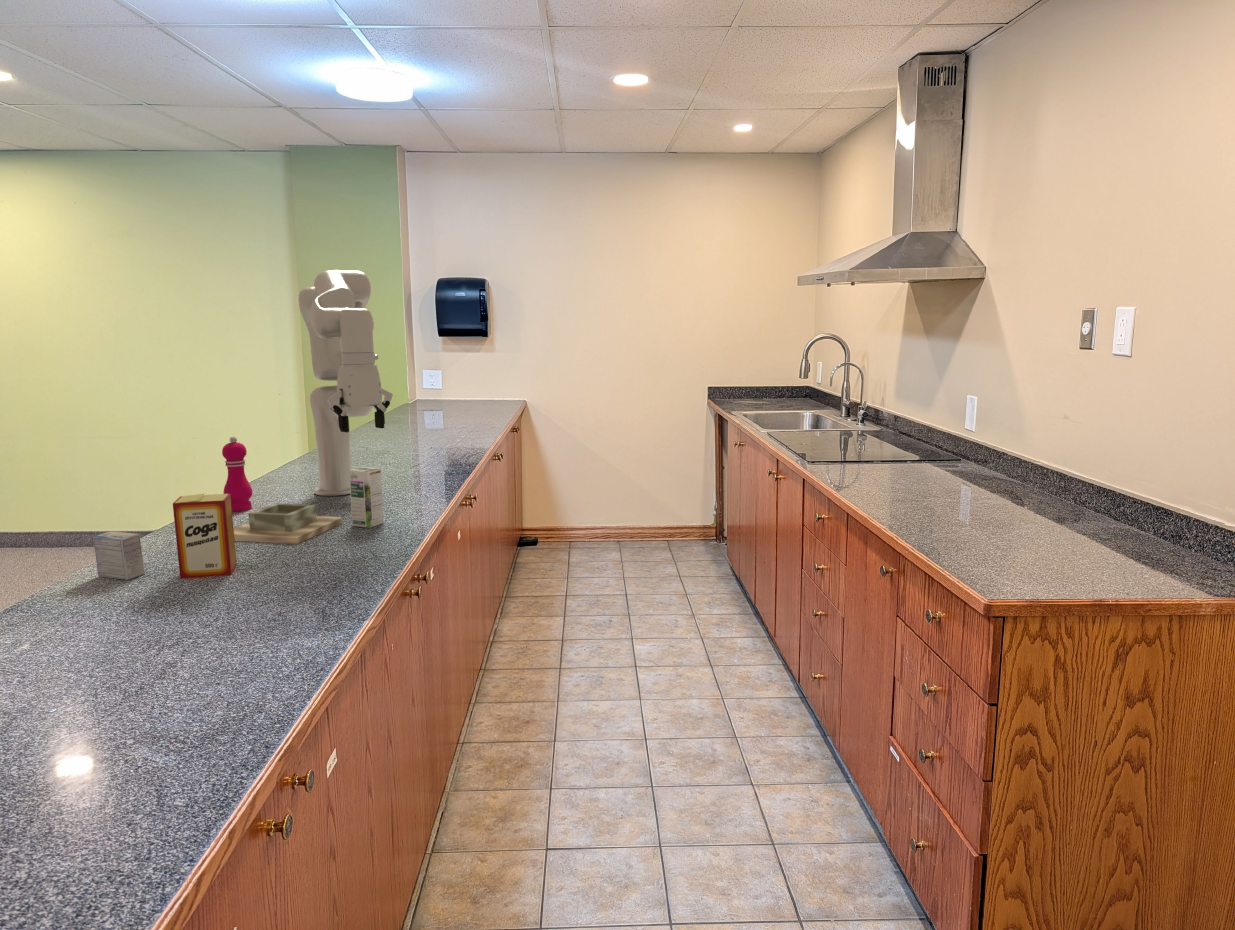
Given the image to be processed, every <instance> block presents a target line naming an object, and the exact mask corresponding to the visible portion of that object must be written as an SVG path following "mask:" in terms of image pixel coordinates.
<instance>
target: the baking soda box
mask: <svg viewBox="0 0 1235 930" xmlns="http://www.w3.org/2000/svg"><path fill="white" fill-rule="evenodd" d="M172 510H173V521H174V529H175V540H176V549H177V559H178V560H177V561H178V571H179V578H180V579H183V580H184V579H185V580H186V579H195V578H208V577H220V576H222V577H223V576H231V575H232V574H233V572H235V569H236V567H238V563H237V552H236V540H234V520H233V511H232V507H231V496H230V494H223V493H219V494H218V493H216V494H205V493H200V494H189V495H183V496H182V495H181V496H179V497H177V499H176V500H175V501H174V502H172Z"/></svg>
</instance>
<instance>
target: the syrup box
mask: <svg viewBox="0 0 1235 930" xmlns="http://www.w3.org/2000/svg"><path fill="white" fill-rule="evenodd" d="M349 479H350V494H349V495H350V509H351V510H350V511H351V525H352V527H358V528H359V527H360V528H365V529H367V528H368V529H371V528H373V527H377V526H379V525H382V524H384V506H383V505H384V504H383V486H382V485H383V484H382V483H383V482H382V468H381V467H367V466H357V467H354V468H353V467H352V469H351V470H349Z"/></svg>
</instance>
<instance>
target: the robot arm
mask: <svg viewBox="0 0 1235 930" xmlns="http://www.w3.org/2000/svg"><path fill="white" fill-rule="evenodd" d="M371 288H372V287H371V282H370V279H369V278H368V276H367V274H365V272H362V271H360V270H342V269H341V270H340V269H333V270H332V269H331V270H329V269H328V270H323V271H321V272H319V273H318V274H317V275H316V276H315V278H314V280H313V286H308V287H305V288H303V289H301V290H300V291H299V294H298V306H299V311H300V313H301V317H302V320H303V322H304V324H305V326H306V328H307V331H308V334H309V342H310V343H309V344H310V354H311V365H312V366H311V367H312V371H313V375H314V377H315V379H317V380H319V381H322V382H336V385H323V386H322V385H321V386H319V387H316V388H315V389H313V390H312V391H311V393H310V396H309V403H310V408H311V412H312V417H313V422H314V430H315V442H316V458H317V471H318V473H317V474H318V484H319V486H317V487H315V488H314V489H313V493H314V494H315V495H317V496H323V497H332V496H333V497H334V496H335V497H336V496H344V495H350V479H349V470H351V469H353V467H352V450H351V436H350V420H349V418H360V417H367V416H369V415H370V414H372V412H373V408H374V410H375V411H374V413H373V414H374V426H375V428H376V429H385V424H386V421H385V413H386V412H387V408H388V407H390V405H391V401H392V398H393V393H392V392H389V391H387V389H384V388H382V382H381V377H380V373H379V369H378V366H377V364H375V363H376V361H378V360H379V355H378V354H375V351H374V350H375V349H374V348H375V347H374V334H373V333H374V332H373V331H374V328H375V327H374V323H375V322H374V317H373V316H372V311H371V310H369V309H367V308H366V307H367V304H368V302H369V300H370V297H371V292H372V291H371V290H372V289H371ZM383 398H384V399H383Z"/></svg>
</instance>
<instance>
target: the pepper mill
mask: <svg viewBox="0 0 1235 930" xmlns="http://www.w3.org/2000/svg"><path fill="white" fill-rule="evenodd" d="M237 441H238V438H237V437H236V436H231V437H230V438H229V442H228V443H226V444H224V446H223V447H222V451H221V453H222V456H223V458H224V459H225V461H224V463H225V467H227V479H226V482H225V484H224V487H223V493H222V494H230V496H231V507H232V512H245V511H248V510H251V509H252V508H253V506H252V501H251V500H250V499H251V498H252V497H253V488H252V486H251V483H250V482H249V480H248V478H247V476H246V473H245V465H246V464H247V463H246V460H245V459H244V458H245V457H246V456H247V448H246V446H245V445H244V444H243V443H241V442H237Z"/></svg>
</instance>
